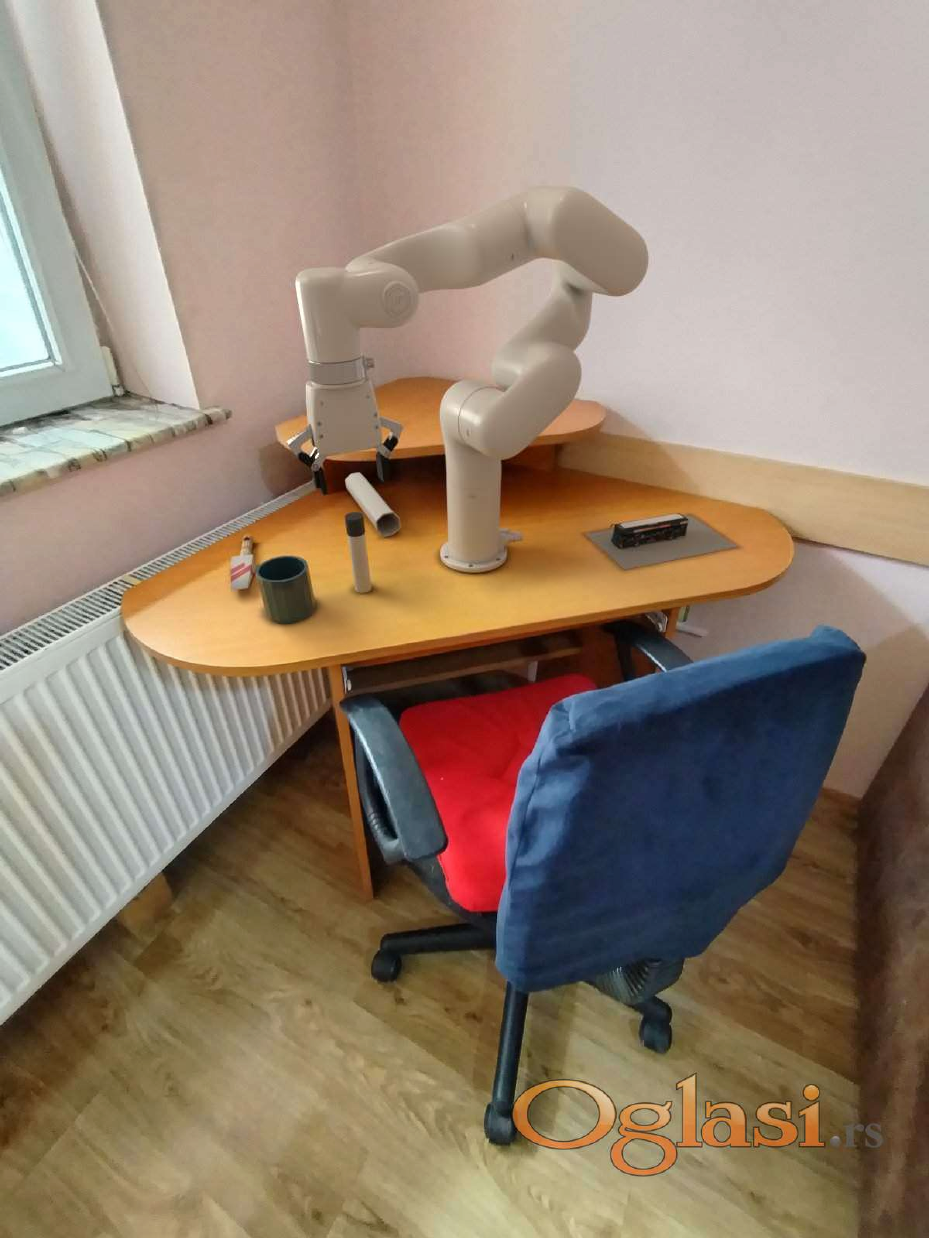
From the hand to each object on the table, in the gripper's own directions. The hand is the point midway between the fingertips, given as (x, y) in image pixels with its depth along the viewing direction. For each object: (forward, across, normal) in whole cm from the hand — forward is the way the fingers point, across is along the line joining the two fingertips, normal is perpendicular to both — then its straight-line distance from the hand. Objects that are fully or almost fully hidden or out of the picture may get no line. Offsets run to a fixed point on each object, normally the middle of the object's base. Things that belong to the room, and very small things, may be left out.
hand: (353, 485), depth 93 cm
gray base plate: (+20, -57, +8) cm, 61 cm away
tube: (+20, -9, -29) cm, 36 cm away
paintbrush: (+19, +19, -16) cm, 31 cm away
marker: (+19, +1, 0) cm, 19 cm away
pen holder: (+19, +14, +1) cm, 23 cm away
